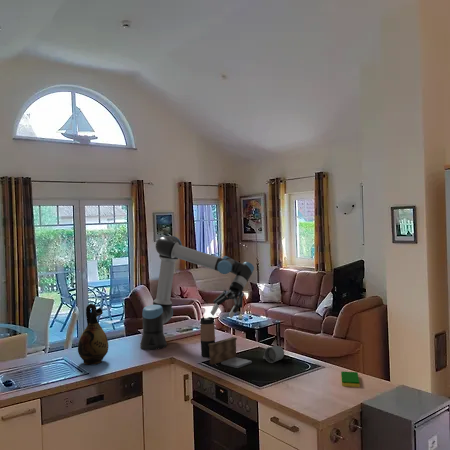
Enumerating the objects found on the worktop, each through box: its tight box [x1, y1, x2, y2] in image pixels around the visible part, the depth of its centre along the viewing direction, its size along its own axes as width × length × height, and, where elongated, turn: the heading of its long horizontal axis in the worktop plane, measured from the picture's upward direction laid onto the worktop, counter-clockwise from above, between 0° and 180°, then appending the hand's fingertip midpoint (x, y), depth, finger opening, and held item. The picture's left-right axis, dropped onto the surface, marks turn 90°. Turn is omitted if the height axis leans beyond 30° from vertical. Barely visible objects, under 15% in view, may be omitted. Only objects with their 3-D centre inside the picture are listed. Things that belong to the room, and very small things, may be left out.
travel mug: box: [199, 316, 216, 359], centre depth 240 cm, size 8×8×20 cm
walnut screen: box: [208, 336, 238, 366], centre depth 231 cm, size 19×3×10 cm, turn 137°
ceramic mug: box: [262, 345, 285, 364], centre depth 229 cm, size 11×8×8 cm
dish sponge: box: [340, 371, 360, 388], centre depth 195 cm, size 7×14×2 cm, turn 167°
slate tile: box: [220, 356, 253, 369], centre depth 225 cm, size 11×11×1 cm
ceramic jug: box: [77, 303, 109, 366], centre depth 234 cm, size 17×15×30 cm
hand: (220, 315), depth 248 cm, fingers open, 13 cm apart
